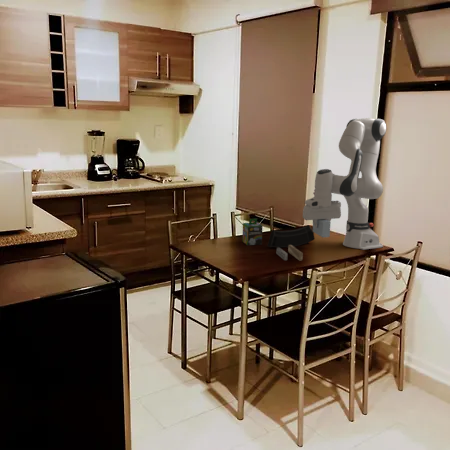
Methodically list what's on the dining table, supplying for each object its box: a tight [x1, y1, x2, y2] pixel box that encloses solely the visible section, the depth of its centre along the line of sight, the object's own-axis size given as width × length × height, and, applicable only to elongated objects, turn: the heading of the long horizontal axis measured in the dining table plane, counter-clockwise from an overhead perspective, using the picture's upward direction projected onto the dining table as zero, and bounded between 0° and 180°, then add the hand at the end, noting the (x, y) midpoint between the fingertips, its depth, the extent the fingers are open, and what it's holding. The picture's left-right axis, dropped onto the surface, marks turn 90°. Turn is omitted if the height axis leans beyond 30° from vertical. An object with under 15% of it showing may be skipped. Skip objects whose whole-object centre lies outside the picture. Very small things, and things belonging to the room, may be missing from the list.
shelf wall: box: [287, 245, 304, 262], centre depth 247 cm, size 2×16×4 cm, turn 14°
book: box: [312, 219, 332, 238], centre depth 244 cm, size 4×12×8 cm, turn 14°
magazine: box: [267, 224, 315, 248], centre depth 266 cm, size 17×3×30 cm
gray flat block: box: [275, 247, 289, 261], centre depth 245 cm, size 2×12×4 cm, turn 14°
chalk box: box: [242, 218, 263, 246], centre depth 270 cm, size 9×9×15 cm
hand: (321, 227), depth 244 cm, fingers closed on book, 4 cm apart
